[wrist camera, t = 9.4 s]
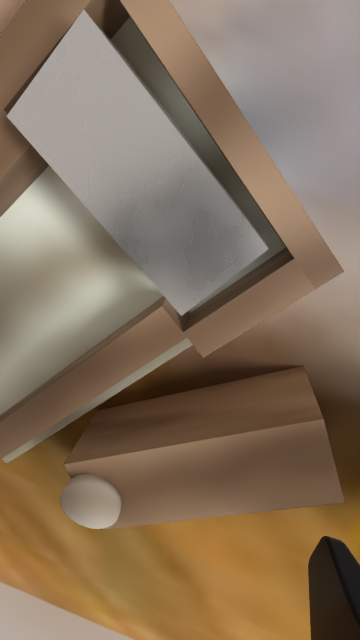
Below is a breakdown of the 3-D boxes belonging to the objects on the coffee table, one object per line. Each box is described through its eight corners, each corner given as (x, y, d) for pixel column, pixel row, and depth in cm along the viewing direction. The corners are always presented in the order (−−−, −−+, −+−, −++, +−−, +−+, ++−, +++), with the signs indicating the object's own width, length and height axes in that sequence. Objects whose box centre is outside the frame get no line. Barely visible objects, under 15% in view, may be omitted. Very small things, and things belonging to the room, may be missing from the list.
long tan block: (320, 432, 20) (348, 514, 15) (114, 466, 24) (82, 541, 19) (302, 363, 18) (327, 428, 14) (86, 411, 22) (42, 476, 17)
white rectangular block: (260, 233, 15) (268, 249, 11) (193, 287, 17) (181, 316, 13) (125, 57, 13) (83, 9, 10) (63, 133, 15) (6, 116, 11)
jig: (322, 254, 16) (343, 271, 13) (15, 453, 24) (-19, 494, 21) (134, -33, 13) (102, -104, 10) (-141, 302, 21) (-208, 322, 18)
